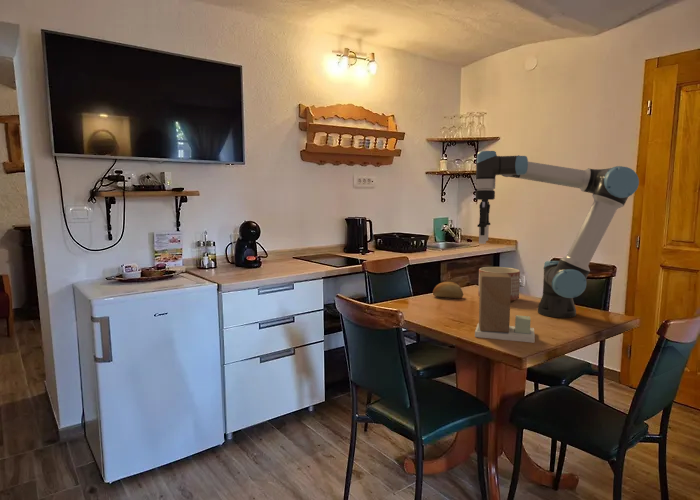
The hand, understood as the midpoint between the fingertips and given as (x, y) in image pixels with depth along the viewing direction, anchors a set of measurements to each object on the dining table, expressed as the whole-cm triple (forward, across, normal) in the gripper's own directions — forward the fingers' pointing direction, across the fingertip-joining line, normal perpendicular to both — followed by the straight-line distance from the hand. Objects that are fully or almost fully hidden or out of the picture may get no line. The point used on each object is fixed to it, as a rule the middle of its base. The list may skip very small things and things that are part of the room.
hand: (483, 242), depth 190 cm
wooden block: (+30, +23, +6) cm, 38 cm away
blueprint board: (+32, +23, +10) cm, 40 cm away
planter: (+32, -40, +5) cm, 51 cm away
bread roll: (+32, -36, -19) cm, 52 cm away
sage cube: (+30, +23, +16) cm, 41 cm away
